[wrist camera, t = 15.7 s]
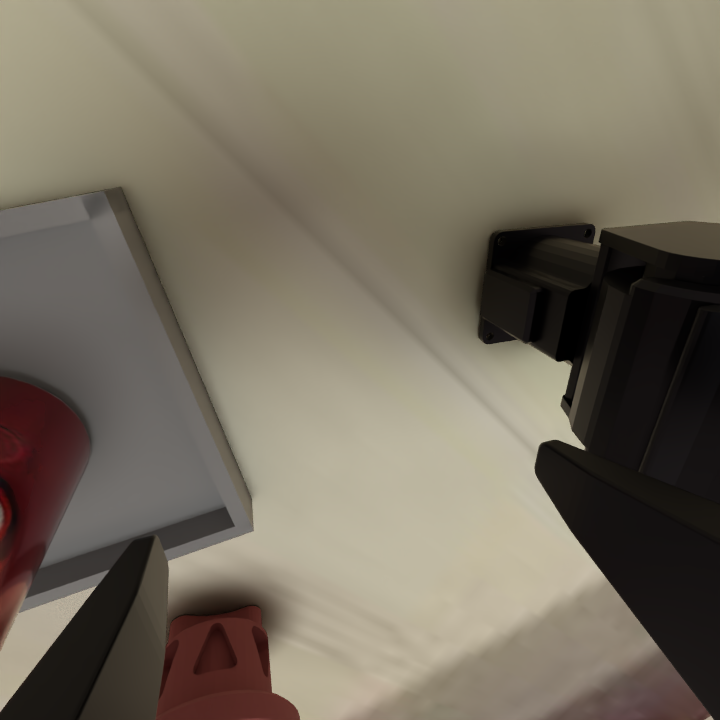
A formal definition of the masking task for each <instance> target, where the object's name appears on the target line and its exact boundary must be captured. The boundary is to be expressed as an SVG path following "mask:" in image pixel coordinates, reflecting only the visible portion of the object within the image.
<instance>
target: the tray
mask: <svg viewBox="0 0 720 720" xmlns="http://www.w3.org/2000/svg"><path fill="white" fill-rule="evenodd" d="M0 376H4V377H11V378H14V379H18V380H21V381H24V382H28V383H31V384H33V385H35V386H38V387H40V388H42V389H44V390H46V391H48V392H50V393H51V394H53V395H55V396H56V397H58V398H59V399H61V400H62V401H63V402H65V403H66V404H67V405H68V406H69V407H70V408H71V409H72V410H73V411H74V412H75V413H76V414H77V416H78V417H79V419H80V420H81V421H82V423H83V424H84V427H85V429H86V432H87V434H88V436H89V442H90V449H91V450H90V457H89V463H88V465H87V468H86V470H85V472H84V474H83V477H82V479H81V481H80V483H79V485H78V487H77V489H76V491H75V494H74V496H73V498H72V500H71V502H70V504H69V506H68V508H67V511H66V513H65V515H64V517H63V519H62V521H61V523H60V525H59V528H58V530H57V532H56V534H55V536H54V538H53V540H52V542H51V545H50V547H49V549H48V551H47V553H46V555H45V557H44V559H43V562H42V564H41V566H40V568H39V570H38V572H37V574H36V576H35V579H34V581H33V583H32V585H31V587H30V589H29V591H28V593H27V596H26V598H25V600H24V602H23V604H22V606H21V608H20V610H19V613H20V612H23V611H26V610H28V609H31V608H34V607H37V606H40V605H43V604H46V603H48V602H51V601H54V600H57V599H60V598H63V597H66V596H69V595H71V594H74V593H77V592H80V591H83V590H86V589H89V588H92V587H94V586H97V585H98V584H99V583H100V582H101V581H102V579H103V578H104V577H105V575H106V574H107V573H108V571H109V570H110V569H111V568H112V566H113V565H114V564H115V562H116V561H117V560H118V558H119V557H120V556H121V555H122V553H123V552H124V551H125V549H126V548H127V547H128V545H129V544H130V543H131V542H132V541H133V540H134V539H136V538H139V537H143V536H148V535H152V534H155V535H157V536H158V537H159V539H160V542H161V545H162V548H163V550H164V553H165V556H166V558H167V561H169V560H172V559H175V558H178V557H180V556H183V555H186V554H189V553H192V552H195V551H198V550H201V549H203V548H206V547H209V546H212V545H215V544H218V543H221V542H223V541H226V540H229V539H232V538H235V537H238V536H241V535H244V534H246V533H249V532H252V531H254V527H253V510H252V498H251V496H250V493H249V491H248V489H247V486H246V484H245V481H244V479H243V477H242V474H241V472H240V470H239V467H238V465H237V462H236V460H235V458H234V455H233V453H232V451H231V448H230V446H229V443H228V441H227V439H226V436H225V434H224V432H223V429H222V427H221V424H220V422H219V420H218V417H217V415H216V412H215V410H214V408H213V405H212V403H211V401H210V398H209V396H208V393H207V391H206V389H205V386H204V384H203V382H202V379H201V377H200V374H199V372H198V370H197V367H196V365H195V363H194V360H193V358H192V355H191V353H190V351H189V348H188V346H187V344H186V341H185V339H184V336H183V334H182V332H181V329H180V327H179V324H178V322H177V320H176V317H175V315H174V313H173V310H172V308H171V305H170V303H169V301H168V298H167V296H166V294H165V291H164V289H163V286H162V284H161V282H160V279H159V277H158V275H157V272H156V270H155V267H154V265H153V263H152V260H151V258H150V256H149V253H148V251H147V248H146V246H145V244H144V241H143V239H142V236H141V234H140V232H139V229H138V227H137V225H136V222H135V220H134V217H133V215H132V213H131V210H130V208H129V206H128V203H127V201H126V198H125V196H124V194H123V191H122V189H121V187H118V188H113V189H108V190H102V191H97V192H92V193H87V194H81V195H76V196H71V197H66V198H60V199H55V200H50V201H45V202H39V203H34V204H29V205H24V206H18V207H13V208H8V209H3V210H0Z"/></svg>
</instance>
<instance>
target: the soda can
mask: <svg viewBox="0 0 720 720" xmlns="http://www.w3.org/2000/svg"><path fill="white" fill-rule="evenodd" d="M90 450H91V449H90V442H89V436H88V434H87V432H86V429H85V427H84V424H83V423H82V421H81V420H80V419H79V417H78V416H77V414H76V413H75V412H74V411H73V410H72V409H71V408H70V407H69V406H68V405H67V404H66V403H65V402H63V401H62V400H61V399H59V398H58V397H56V396H55V395H53V394H51V393H50V392H48V391H46V390H44V389H42V388H40V387H38V386H35V385H33V384H31V383H28V382H24V381H21V380H18V379H14V378H11V377H4V376H0V651H1V649H2V647H3V644H4V642H5V640H6V638H7V636H8V634H9V632H10V630H11V627H12V625H13V623H14V621H15V619H16V617H17V615H18V613H19V610H20V608H21V606H22V604H23V602H24V600H25V598H26V596H27V593H28V591H29V589H30V587H31V585H32V583H33V581H34V579H35V576H36V574H37V572H38V570H39V568H40V566H41V564H42V562H43V559H44V557H45V555H46V553H47V551H48V549H49V547H50V545H51V542H52V540H53V538H54V536H55V534H56V532H57V530H58V528H59V525H60V523H61V521H62V519H63V517H64V515H65V513H66V511H67V508H68V506H69V504H70V502H71V500H72V498H73V496H74V494H75V491H76V489H77V487H78V485H79V483H80V481H81V479H82V477H83V474H84V472H85V470H86V468H87V465H88V463H89V457H90Z"/></svg>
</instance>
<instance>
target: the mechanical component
mask: <svg viewBox="0 0 720 720" xmlns="http://www.w3.org/2000/svg"><path fill="white" fill-rule="evenodd" d="M155 720H300V716H299V713H298V710H297V709H296V708H295V706H294V705H293V704H292V703H290V702H289V701H288V700H286V699H285V698H283V697H281V696H279V695H277V694H274V693H272V687H271V674H270V661H269V647H268V637H267V633H266V631H265V630H264V628H263V627H262V619H261V610H260V608H258V607H256V606H247V607H244V608H241V609H239V610H236V611H232V612H228V613H224V614H218V615H210V616H192V615H183V616H180V617H178V618H176V619H175V620H173V621H172V623H171V624H170V632H169V639H168V643H167V644H166V646H165V658H164V666H163V673H162V679H161V686H160V693H159V699H158V706H157V713H156V719H155Z"/></svg>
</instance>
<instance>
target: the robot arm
mask: <svg viewBox="0 0 720 720" xmlns="http://www.w3.org/2000/svg"><path fill="white" fill-rule="evenodd" d="M585 231H586V234H585V235H584V233H585ZM594 236H595V226H594V225H592V224H587V223H580V224H568V225H556V226H545V227H533V228H521V229H509V230H499V231H496V232H494V233H493V234H492V236H491V238H490V242H489V251H488V260H487V269H486V273H485V275H484V284H483V293H482V302H481V311H480V315H481V322H480V330H479V338H480V340H481V341H482V342H484V343H485V344H493V343H499V342H506V341H512V340H519V341H521V342H523V343H525V344H529V345H531V346H533V347H534V348H536V349H538V350H539V351H541V352H542V353H544V354H546V355H547V356H549V357H551V358H552V359H554V360H555V361H557V362H561V361H564V362H566V363H568V364H569V365H571V366H572V368H571V373H570V377H569V381H568V385H567V390H566V394H565V395H563V397H562V401H561V407H562V409H563V410H564V412H565V413H566V415H567V416H568V418H569V421H570V425H571V429H572V431H573V432H574V434H575V435H576V436H577V438H578V439H579V440H580V441H581V443H582V444H583V445H584V446H585V450H582V449H579V448H577V447H574V446H572V445H569V444H566V443H564V442H561V441H559V440H551V441H547V442H543V443H541V444H540V446H539V449H538V453H537V458H536V463H535V474H536V476H537V478H538V480H539V481H540V483H541V485H542V486H543V488H544V489H545V491H546V493H547V494H548V496H549V497H550V499H551V501H552V502H553V504H554V505H555V507H556V509H557V510H558V512H559V513H560V515H561V517H562V518H563V520H564V521H565V523H566V524H567V526H568V527H569V529H570V530H571V532H572V533H573V535H574V536H575V537H576V539H577V540H578V541H579V543H580V544H581V545H582V547H583V548H584V549H585V551H586V552H587V553H588V554H589V556H590V557H591V558H592V560H593V561H594V562H595V564H596V565H597V566H598V568H599V569H600V570H601V572H602V573H603V574H604V576H605V577H606V578H607V579H608V581H609V582H610V583H611V585H612V586H613V587H614V589H615V590H616V591H617V593H618V594H619V595H620V597H621V598H622V599H623V601H624V602H625V603H626V604H627V606H628V607H629V608H630V610H631V611H632V612H633V614H634V615H635V616H636V618H637V619H638V620H639V622H640V623H641V624H642V626H643V627H644V628H645V629H646V631H647V632H648V633H649V635H650V636H651V637H652V639H653V640H654V641H655V643H656V644H657V645H658V647H659V648H660V649H661V651H662V652H663V653H664V654H665V656H666V657H667V658H668V660H669V661H670V662H671V664H672V665H673V666H674V668H675V669H676V670H677V672H678V673H679V674H680V676H681V677H682V678H683V679H684V681H685V682H686V683H687V685H688V686H689V687H690V689H691V690H692V691H693V693H694V694H695V695H696V697H697V698H698V699H699V701H700V702H701V703H702V704H703V706H704V707H705V708H706V710H707V711H708V712H709V714H710V715H711V716H712V718H713V719H714V720H720V224H719V223H707V222H695V221H682V222H671V223H659V224H648V225H637V226H626V227H615V228H604V229H602V230H601V234H600V239H599V243H601V246H598V245H594V244H593V240H594ZM500 237H502V241H501V243H500V244H498V240H499V238H500ZM488 333H490V335H489V336H488V337H487V338H486V336H487V334H488ZM168 576H169V569H168V561H167V558H166V556H165V553H164V550H163V548H162V545H161V542H160V539H159V537H158V536H157V535H155V534H152V535H148V536H143V537H139V538H136V539H134V540H133V541H132V542H131V543H130V544H129V545H128V547H127V548H126V549H125V551H124V552H123V553H122V555H121V556H120V557H119V558H118V560H117V561H116V562H115V564H114V565H113V566H112V568H111V569H110V570H109V571H108V573H107V574H106V575H105V577H104V578H103V579H102V581H101V582H100V583H99V584H98V586H97V587H96V588H95V590H94V591H93V592H92V594H91V595H90V596H89V597H88V599H87V600H86V601H85V603H84V604H83V605H82V607H81V608H80V609H79V610H78V612H77V613H76V614H75V616H74V617H73V618H72V620H71V621H70V622H69V623H68V625H67V626H66V627H65V629H64V630H63V631H62V633H61V634H60V635H59V636H58V638H57V639H56V640H55V642H54V643H53V644H52V646H51V647H50V648H49V649H48V651H47V652H46V653H45V655H44V656H43V657H42V659H41V660H40V661H39V662H38V664H37V665H36V666H35V668H34V669H33V670H32V672H31V673H30V674H29V675H28V677H27V678H26V679H25V681H24V682H23V683H22V685H21V686H20V687H19V688H18V690H17V691H16V692H15V694H14V695H13V696H12V698H11V699H10V700H9V701H8V703H7V704H6V705H5V707H4V708H3V709H2V711H1V712H0V720H155V719H156V713H157V706H158V699H159V693H160V686H161V679H162V673H163V666H164V658H165V646H166V625H167V600H168Z"/></svg>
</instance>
